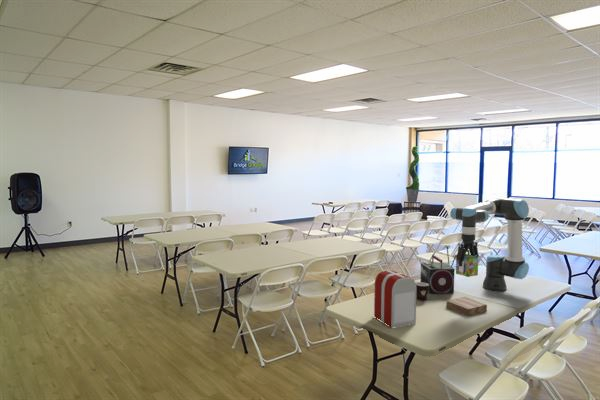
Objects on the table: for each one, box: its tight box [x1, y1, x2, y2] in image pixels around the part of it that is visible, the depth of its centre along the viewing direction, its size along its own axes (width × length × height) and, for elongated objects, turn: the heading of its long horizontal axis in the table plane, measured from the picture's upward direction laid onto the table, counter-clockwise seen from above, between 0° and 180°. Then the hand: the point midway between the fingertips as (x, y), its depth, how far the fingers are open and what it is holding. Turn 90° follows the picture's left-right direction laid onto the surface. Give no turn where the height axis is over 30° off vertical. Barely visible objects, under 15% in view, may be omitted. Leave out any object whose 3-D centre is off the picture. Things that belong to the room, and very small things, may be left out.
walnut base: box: [445, 296, 488, 317], centre depth 238 cm, size 16×16×4 cm
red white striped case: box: [373, 269, 417, 329], centre depth 220 cm, size 16×18×27 cm
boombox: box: [419, 245, 457, 295], centre depth 274 cm, size 18×21×30 cm
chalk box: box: [455, 249, 479, 278], centre depth 237 cm, size 9×9×15 cm
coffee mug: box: [415, 281, 429, 302], centre depth 256 cm, size 12×9×10 cm
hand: (466, 270), depth 237 cm, fingers closed on chalk box, 9 cm apart
